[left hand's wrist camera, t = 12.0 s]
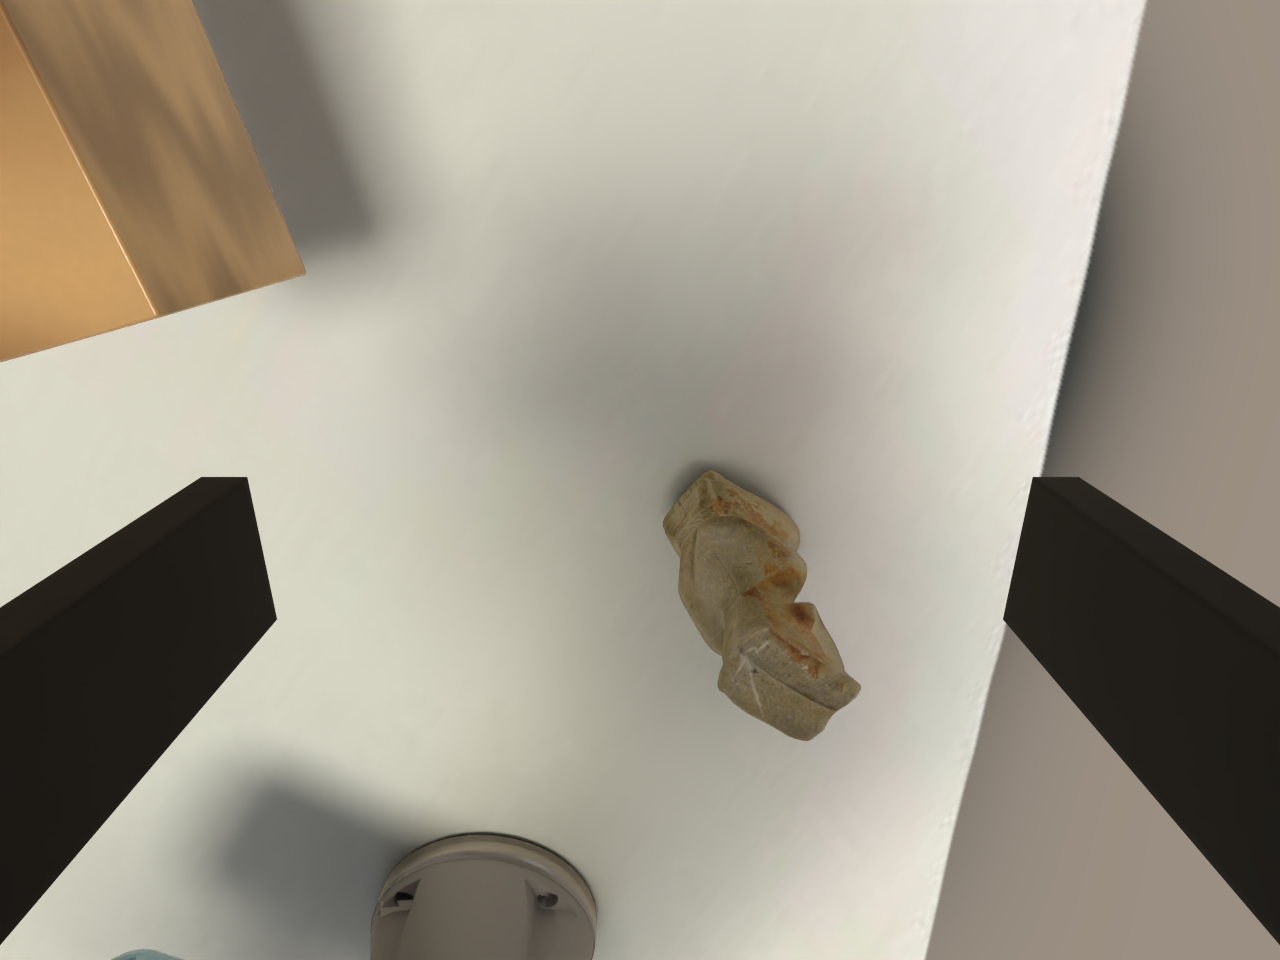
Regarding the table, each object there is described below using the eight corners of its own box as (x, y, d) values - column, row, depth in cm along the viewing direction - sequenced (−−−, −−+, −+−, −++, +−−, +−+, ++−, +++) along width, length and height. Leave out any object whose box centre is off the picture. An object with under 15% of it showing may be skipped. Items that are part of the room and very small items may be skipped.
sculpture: (739, 587, 42) (788, 783, 28) (643, 513, 41) (646, 682, 27) (811, 517, 41) (901, 688, 27) (715, 437, 39) (757, 574, 25)
